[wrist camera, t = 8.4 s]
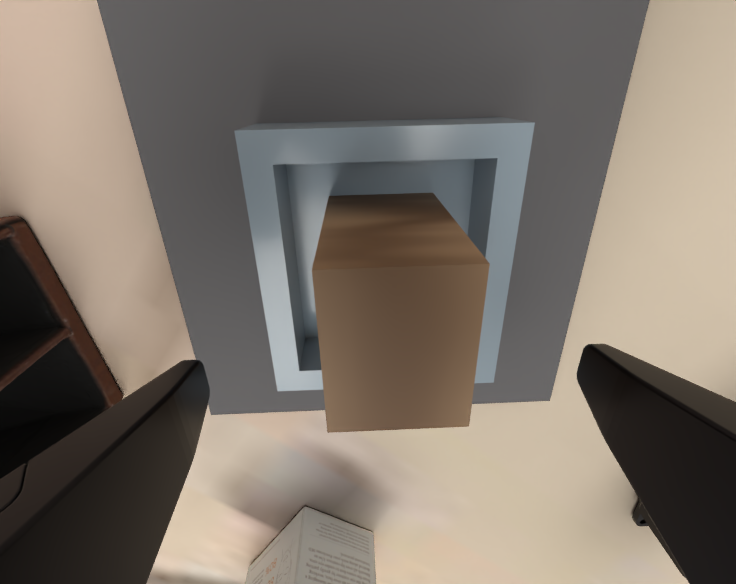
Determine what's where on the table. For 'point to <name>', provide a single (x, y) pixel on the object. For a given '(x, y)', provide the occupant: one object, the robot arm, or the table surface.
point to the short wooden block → (397, 313)
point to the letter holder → (42, 354)
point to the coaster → (360, 103)
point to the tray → (367, 177)
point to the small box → (316, 553)
